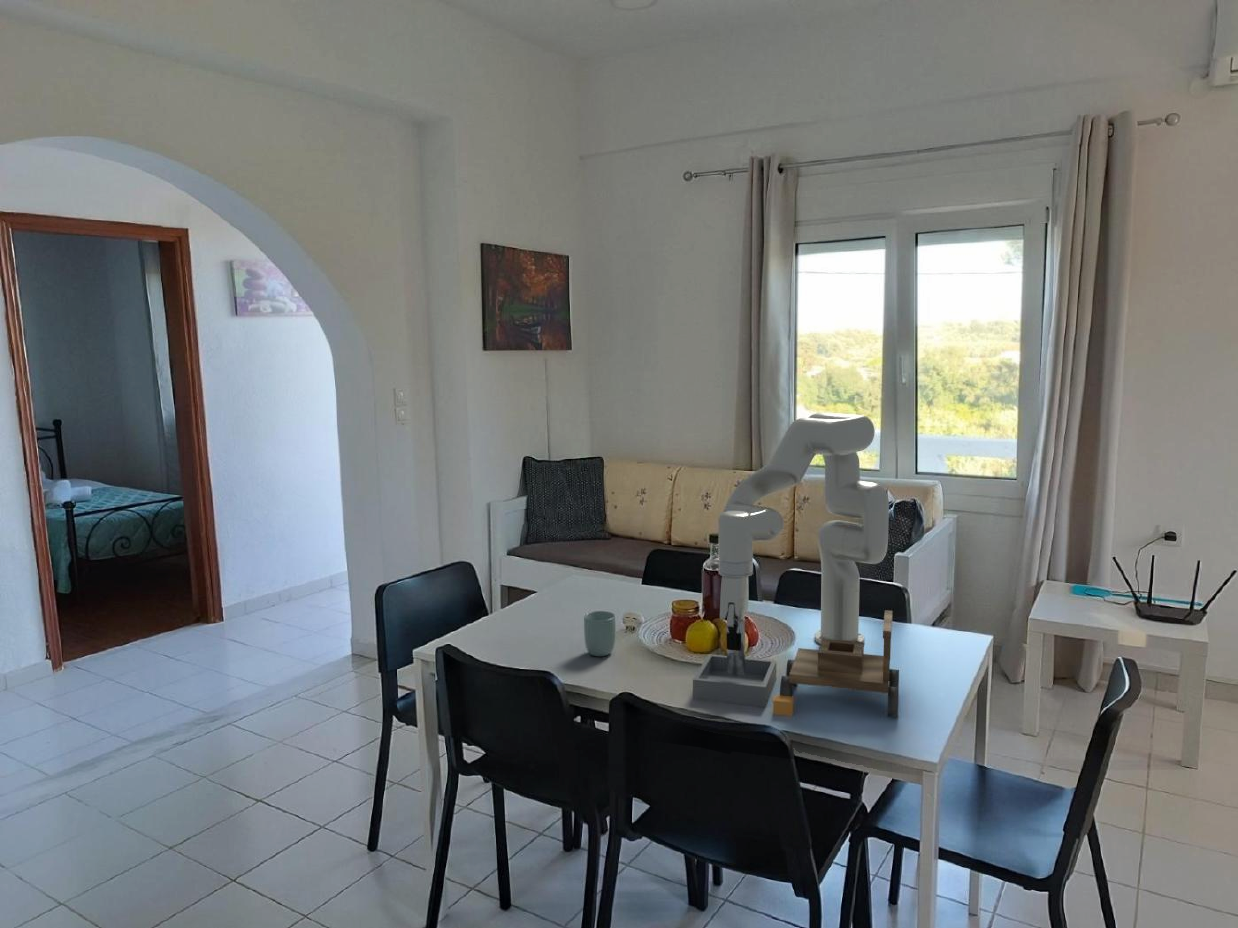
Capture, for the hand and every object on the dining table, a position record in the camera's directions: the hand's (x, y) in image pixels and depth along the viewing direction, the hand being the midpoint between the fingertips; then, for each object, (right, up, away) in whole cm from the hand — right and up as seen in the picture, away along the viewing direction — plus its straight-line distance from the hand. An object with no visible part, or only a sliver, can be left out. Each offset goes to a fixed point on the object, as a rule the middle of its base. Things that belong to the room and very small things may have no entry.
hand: (735, 645), depth 197 cm
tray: (0, -10, +1) cm, 10 cm away
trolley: (+22, -11, -6) cm, 25 cm away
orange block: (+9, -12, -11) cm, 18 cm away
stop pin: (0, -6, +1) cm, 6 cm away
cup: (-31, -8, +25) cm, 41 cm away
